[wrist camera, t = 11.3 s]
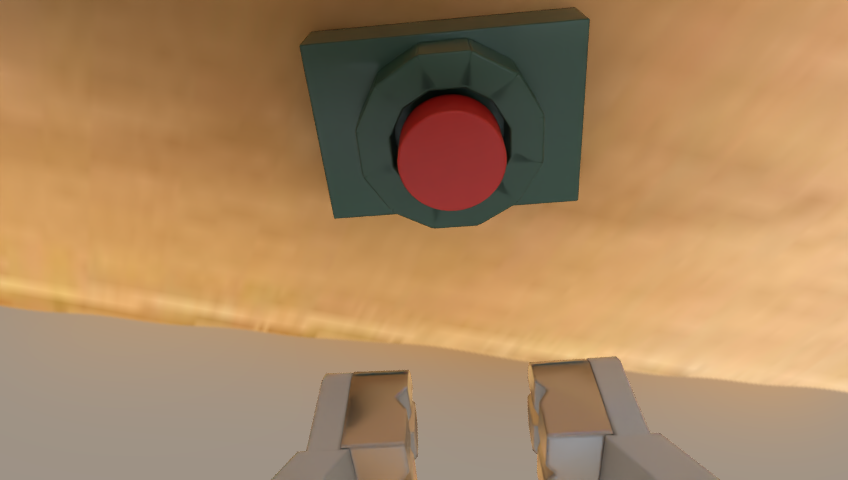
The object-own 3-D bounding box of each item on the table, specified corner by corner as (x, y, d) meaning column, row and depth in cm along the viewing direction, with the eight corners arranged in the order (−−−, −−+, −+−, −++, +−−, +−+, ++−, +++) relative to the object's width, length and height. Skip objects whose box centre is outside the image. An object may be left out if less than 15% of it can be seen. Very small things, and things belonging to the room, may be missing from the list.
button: (405, 192, 21) (403, 215, 19) (393, 98, 19) (391, 115, 17) (501, 185, 21) (507, 207, 19) (500, 88, 19) (506, 105, 17)
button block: (341, 194, 25) (327, 242, 21) (310, 31, 21) (287, 58, 18) (566, 177, 24) (589, 223, 21) (575, 6, 21) (604, 29, 17)
